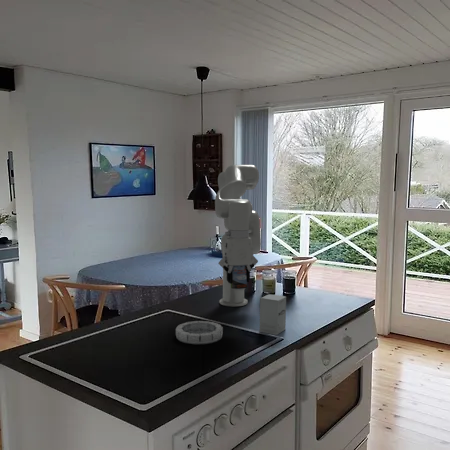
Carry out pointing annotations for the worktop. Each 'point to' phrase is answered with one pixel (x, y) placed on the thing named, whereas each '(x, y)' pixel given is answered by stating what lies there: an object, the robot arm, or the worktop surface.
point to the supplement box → (272, 314)
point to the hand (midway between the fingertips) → (238, 281)
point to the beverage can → (239, 278)
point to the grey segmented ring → (199, 332)
